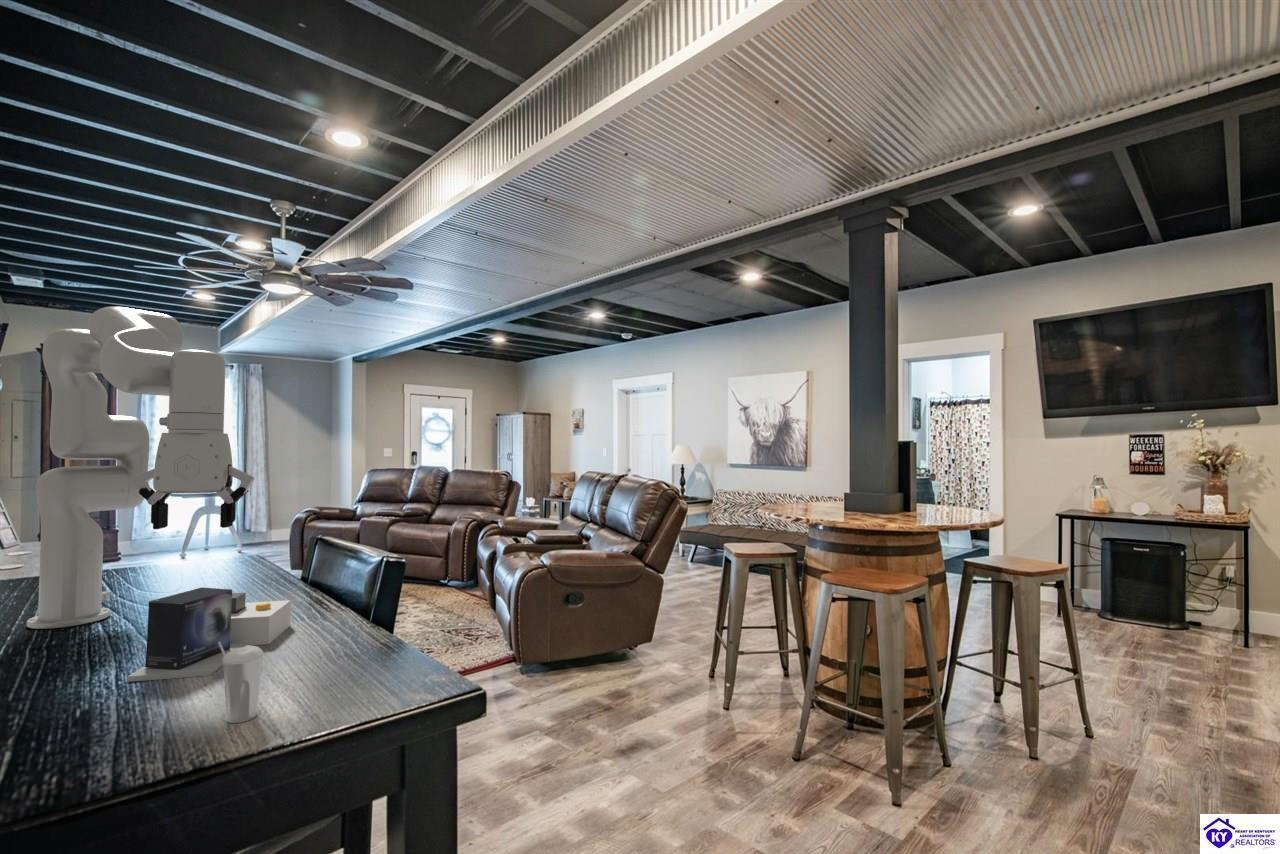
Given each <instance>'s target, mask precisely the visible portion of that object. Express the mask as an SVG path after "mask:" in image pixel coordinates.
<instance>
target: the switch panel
mask: <svg viewBox="0 0 1280 854" xmlns="http://www.w3.org/2000/svg"><path fill="white" fill-rule="evenodd" d="M291 605H292V600H290V599H289V600H276V601H275V600H272V601H271V600H269V601H254V602H253V601H252V602H245V609H243V610H242V611H240V612H239V613H236V614H231V633H230V644H235V643H245V646H246V645H251V646H259V645H260V646H262V645H269V644H271V643H272V642H274V640H276V639H277V638H278V637H279V636H280V635H281V634H282V633H284V632H285V631H286V630H287V629H288V628H289V627H290V626H291V613H292V612H291V610H292V609H291V607H292V606H291Z"/></svg>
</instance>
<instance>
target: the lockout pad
mask: <svg viewBox="0 0 1280 854" xmlns="http://www.w3.org/2000/svg"><path fill="white" fill-rule="evenodd" d="M244 646H245V643H235V644H230V649H228V650H226V651H225V654H227V653H228V652H230V651H233V650H234V649H236V648H242V647H244ZM223 657H224V656H223V653H222V652H221V653H218V654H216V655H213V656H211V657H208V658H206V659H203V660H201V661H198V662H196V663H193V664H191V665H188V666H186V667H183V668H181V669H165V668H148V667H145V665H143V666H142V667H141V668H138V669H137V670H135V671H133V672H132V673H131V674H129V675H127V677H126V680H127V683H129V682H141V681H143V682H144V681H156V680H157V681H158V680H169V679H180V678H183V679H184V678H195V677H209V676H211V675H213V674H214V673H215V672H216V671H218V669H220V668H221V667H223V661H222V659H223Z"/></svg>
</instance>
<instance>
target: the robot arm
mask: <svg viewBox="0 0 1280 854" xmlns="http://www.w3.org/2000/svg"><path fill="white" fill-rule="evenodd" d="M184 337H185V336H184V329H183V327H182V325H181V324H180V322H179V321H178V319H176V318H175V317H173V316H171V315H169V314H164V313H162V312H161V313H160V312H154V311H150V310H149V311H148V310H143V309H137V308H136V309H135V308H132V307H131V308H130V307H124V306H104V307H101V308H99V309H97V310H95V311H94V312H93V313H92V314H91V315H90V316H89V318H88V320H87V329H82V328H60V329H56V330H53V331H51V332H49V333H48V334H47V335H46V337H45V339H44V341H43V345H42V361H43V366H44V370H45V373H46V375H47V377H48V378H47V379H48V381H49V383H50V389H51V405H50V406H51V409H50V426H49V448H50V450H51V452H52V454H53V455H54V456H55V457H57V458H59V459H64V460H81V461H82V460H83V461H84V460H85V461H86V460H87V461H90V460H91V461H92V460H93V461H95V460H96V461H97V460H98V461H99V460H102V461H104V460H106V461H107V460H115V461H116V464H117V465H78V466H77V465H74V466H72V465H71V466H70V465H69V466H61V467H56V468H52V469H49V470H46V471H45V472H43V473H42V474H41V475H39V477H38V479H37V481H36V483H35V485H36V486H35V494H36V499H37V506H38V511H39V518H40V545H39V546H40V551H39V552H40V554H39V574H38V575H39V576H38V578H39V581H38V605H37V606H38V609H37V612H38V613H37V614H38V615H35V616H33V617H31V618H29V619H27V620H26V627H27V628H29V629H34V630H35V629H36V630H38V629H39V630H40V629H41V630H42V629H44V630H45V629H46V630H47V629H60V628H68V627H74V626H76V627H77V626H80V625H86V624H90V623H94V622H98V621H101V620H104V619H106V618H108V617H110V616H111V611H112V610H111V609H110V608H108V607H102V603H103V602H105V601H108V600H109V599H110V598H111V593H110V592H109V591H103V590H102V589H103V561H104V560H103V559H104V558H103V557H104V532H103V529H102V528H101V526H100V524H98V522H96V520H94V519H93V518H92V517H91V516H90V515H89V514H90V513H93V512H101V511H102V512H103V511H115V510H119V511H120V510H126V509H133V508H136V507H139V506H140V505H141V504H142V503H143V502H144V500H146V502H147V504H148V505H150V524H152V529H153V530H160V529H165V528H167V527H168V526H169V524H168V523H169V504H168V502H166V501H167V499H168V498H169V497H170V496H171V495H172V494H208V493H209V494H210V493H216V494H217V495H218V496H219V497H220V498H221V499H222V500H223V503H221V504H220V517H219V518H220V519H219V521H220V523H219V527H220V528H222V529H226V528H229V527H233V524H234V522H235V521H236V517H237V516H236V515H237V510H236V509H237V503H238V502H239V501H240V499H241V498H243V496H245V495H246V494H247V493H248V491H249V489H250V488H251V486H252V485H253V483H254V482H255V477H254V476H253V475H252V474H249V473H247V472H245V471H242V470H240V469H238V468H237V467H233V455H232V449H231V443H230V439H229V434H228V433H226V432H225V433H224V431H225V430H224V428H225V427H224V426H225V425H224V424H225V397H226V396H225V393H226V361H225V358H224V356H222V354H219V353H217V352H214V351H208V350H199V349H182V346H183V344H184ZM181 349H182V350H181ZM94 373H95V374H101V375H102V376H103V378H104V379H105V380H106V381H107V382H108V383H110V384H111V385H112V386H113V387H114V388H116V389H117V390H118V391H121V392H123V393H129V394H131V395H132V394H133V395H134V394H135V395H147V396H149V395H151V396H165V397H169V399H168V413H167V415H166V416H165V417H159V419H158V423H159V425H160V426H165V427H166V430H168V431H167V432H161V435H160V438H159V442H158V446H157V450H156V456H155V461H154V467H153V469H150V470H149V458H150V434H149V433H150V431H149V429H148V427H147V425H146V423H145V422H144V421H143V420H142V419H140V418H138V417H135V416H130V415H115V414H114V415H112V414H111V415H110V414H108V412H107V411H108V392H107V389H106V387H105V386H104V384H102V382H101V381H100V380H99V379H98V378H97V377H96V375H94ZM234 478H235V479H237V480H239V481H240V483H239V486H238V487H237V488H236V489H235V490H233V489H232V486H233V481H234V480H233V479H234ZM151 480H153V481H152V485H153V488H152V487H150V484H149V482H150V481H151Z"/></svg>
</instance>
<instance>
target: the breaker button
mask: <svg viewBox="0 0 1280 854" xmlns="http://www.w3.org/2000/svg"><path fill="white" fill-rule="evenodd" d="M246 596H247V595H246V592H232V606H231V614H236V613H239V612H240V611H242V610H243V609H245V603H246V598H247V597H246Z"/></svg>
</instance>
